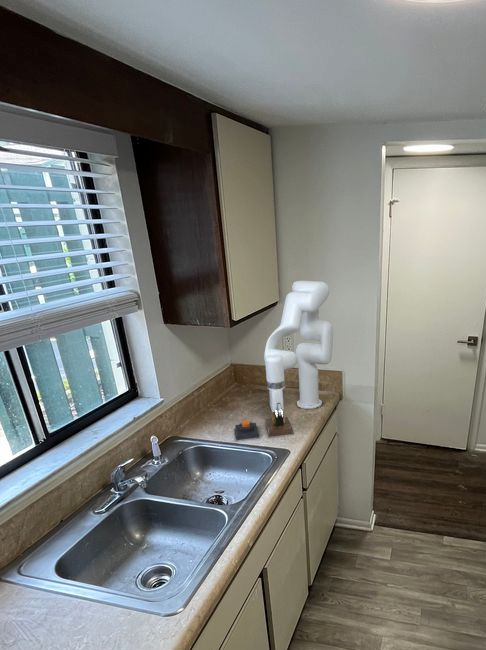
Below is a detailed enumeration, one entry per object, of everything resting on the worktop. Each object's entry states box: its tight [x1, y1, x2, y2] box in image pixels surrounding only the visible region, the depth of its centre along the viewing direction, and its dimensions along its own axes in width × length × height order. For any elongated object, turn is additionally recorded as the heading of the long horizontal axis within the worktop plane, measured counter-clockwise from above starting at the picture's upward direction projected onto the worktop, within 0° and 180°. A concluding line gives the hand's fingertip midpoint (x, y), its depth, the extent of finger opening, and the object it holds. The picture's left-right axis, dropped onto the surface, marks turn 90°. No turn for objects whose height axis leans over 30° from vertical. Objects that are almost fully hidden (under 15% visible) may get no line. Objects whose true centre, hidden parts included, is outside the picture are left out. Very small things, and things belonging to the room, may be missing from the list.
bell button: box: [241, 420, 251, 427], centre depth 187 cm, size 4×4×2 cm
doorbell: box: [234, 421, 259, 441], centre depth 188 cm, size 11×9×4 cm
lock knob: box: [270, 410, 286, 425], centre depth 190 cm, size 6×2×5 cm, turn 105°
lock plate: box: [265, 416, 293, 438], centre depth 192 cm, size 12×10×3 cm
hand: (278, 421), depth 191 cm, fingers open, 8 cm apart
